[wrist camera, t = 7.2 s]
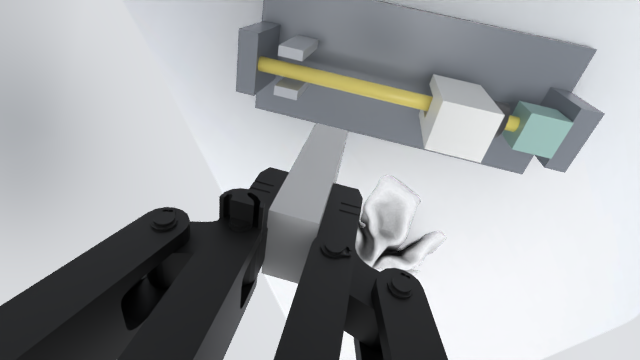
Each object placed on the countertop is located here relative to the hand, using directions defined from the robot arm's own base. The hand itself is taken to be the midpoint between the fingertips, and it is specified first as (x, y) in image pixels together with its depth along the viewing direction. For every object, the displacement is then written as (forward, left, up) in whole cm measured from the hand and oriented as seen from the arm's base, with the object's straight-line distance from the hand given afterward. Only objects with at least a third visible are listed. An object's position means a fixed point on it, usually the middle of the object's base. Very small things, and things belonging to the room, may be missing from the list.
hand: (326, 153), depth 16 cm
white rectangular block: (+1, +8, -16) cm, 18 cm away
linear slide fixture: (+1, +4, -20) cm, 20 cm away
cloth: (+21, +7, -21) cm, 30 cm away
